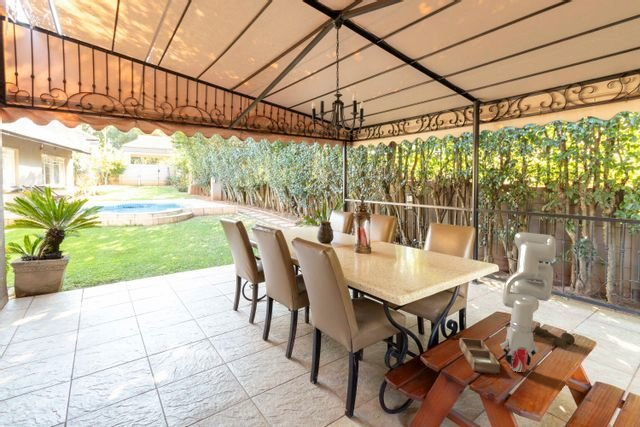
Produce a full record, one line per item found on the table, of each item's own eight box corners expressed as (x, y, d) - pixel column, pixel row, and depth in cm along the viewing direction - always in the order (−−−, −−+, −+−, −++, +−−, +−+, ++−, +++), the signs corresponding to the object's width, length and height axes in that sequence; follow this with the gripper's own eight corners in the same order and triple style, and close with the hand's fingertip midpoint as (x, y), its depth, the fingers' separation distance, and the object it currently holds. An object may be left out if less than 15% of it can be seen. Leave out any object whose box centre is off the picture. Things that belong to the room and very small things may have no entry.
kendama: (540, 332, 177) (582, 349, 159) (530, 336, 172) (573, 354, 155) (540, 322, 176) (583, 338, 159) (531, 326, 172) (574, 343, 154)
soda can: (504, 364, 145) (506, 341, 143) (518, 364, 145) (521, 340, 144) (514, 374, 138) (517, 349, 136) (529, 374, 138) (532, 349, 137)
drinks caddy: (458, 345, 160) (459, 337, 160) (481, 347, 159) (481, 339, 158) (473, 371, 139) (474, 362, 139) (499, 373, 138) (500, 364, 138)
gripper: (537, 324, 141) (533, 359, 144) (497, 321, 144) (493, 356, 146) (547, 332, 134) (542, 369, 136) (504, 329, 136) (501, 366, 138)
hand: (517, 362), depth 141 cm, fingers open, 7 cm apart
